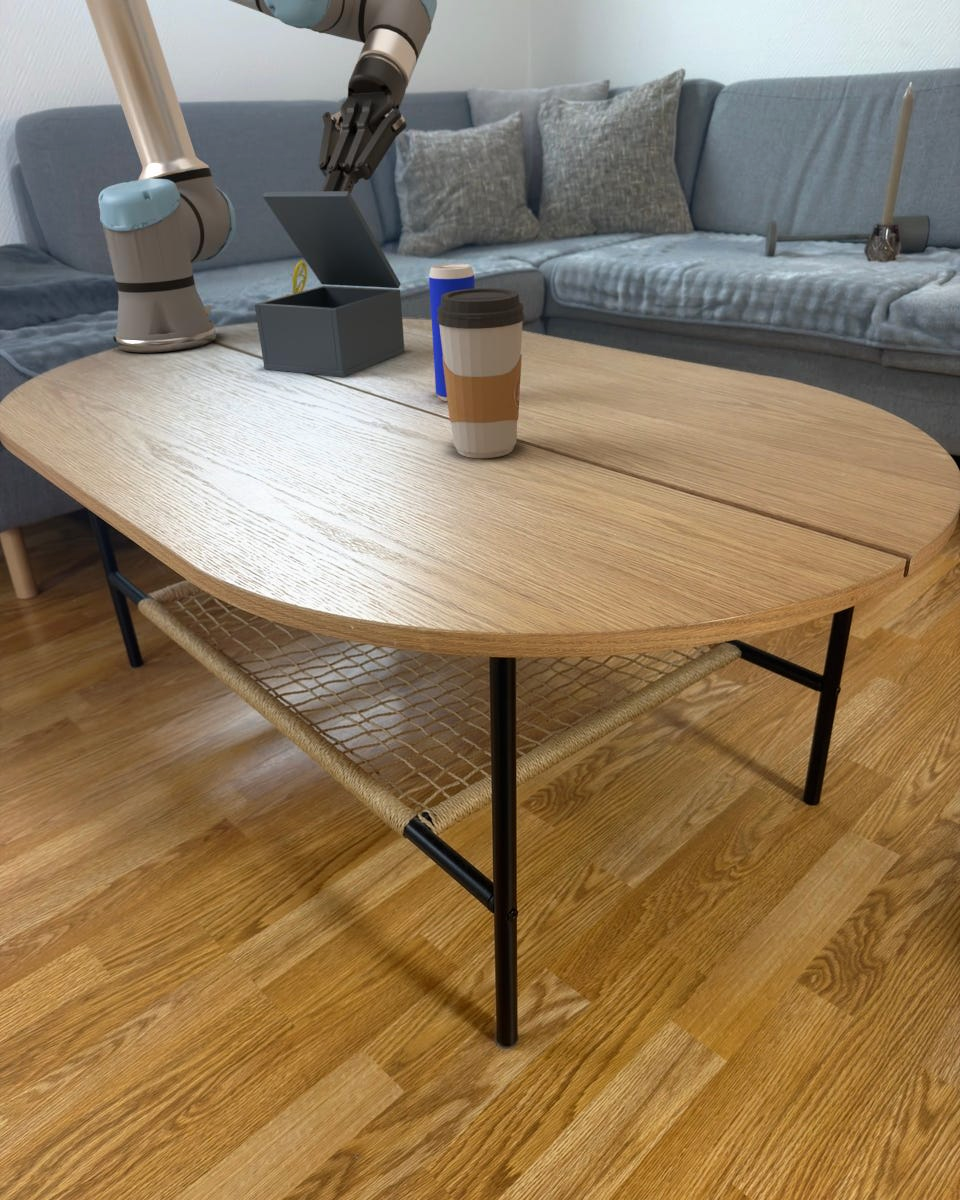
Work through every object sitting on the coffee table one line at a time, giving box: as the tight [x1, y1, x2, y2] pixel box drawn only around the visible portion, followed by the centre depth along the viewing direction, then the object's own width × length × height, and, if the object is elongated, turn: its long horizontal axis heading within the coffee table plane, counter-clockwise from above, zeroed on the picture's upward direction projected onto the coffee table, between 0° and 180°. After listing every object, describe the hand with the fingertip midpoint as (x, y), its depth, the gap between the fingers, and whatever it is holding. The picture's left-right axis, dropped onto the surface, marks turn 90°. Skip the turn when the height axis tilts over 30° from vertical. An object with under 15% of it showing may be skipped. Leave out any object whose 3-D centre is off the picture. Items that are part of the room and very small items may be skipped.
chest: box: [254, 285, 406, 378], centre depth 123 cm, size 16×14×9 cm
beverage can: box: [428, 262, 476, 402], centre depth 102 cm, size 5×5×15 cm
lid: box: [262, 190, 402, 289], centre depth 120 cm, size 16×14×1 cm
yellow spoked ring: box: [286, 260, 308, 296], centre depth 145 cm, size 13×3×10 cm
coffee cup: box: [437, 287, 526, 459], centre depth 85 cm, size 8×8×15 cm
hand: (325, 218), depth 117 cm, fingers closed
